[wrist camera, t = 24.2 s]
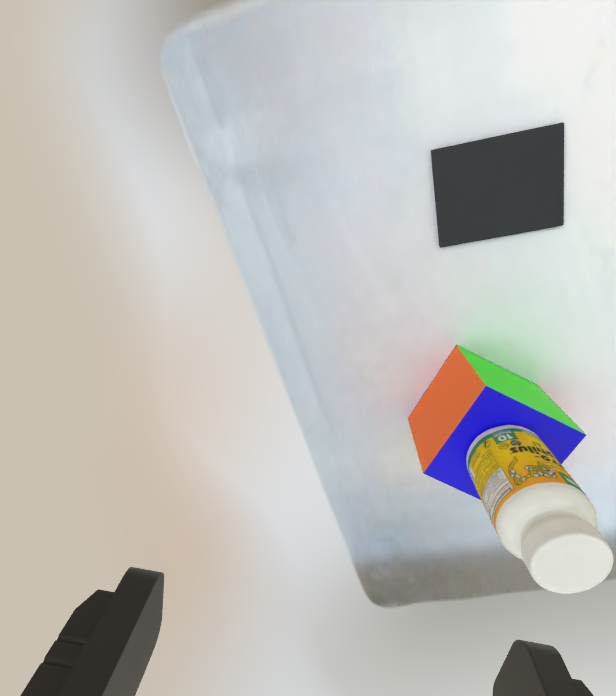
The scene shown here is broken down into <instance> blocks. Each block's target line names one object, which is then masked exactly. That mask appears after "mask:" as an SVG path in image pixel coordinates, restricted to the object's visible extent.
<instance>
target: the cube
mask: <svg viewBox="0 0 616 696" xmlns="http://www.w3.org/2000/svg"><path fill="white" fill-rule="evenodd" d="M408 421H409V424H410V428H411V431H412V435H413V438H414V442H415V445H416V449H417V452H418V456H419V459H420V463H421V466H422V470H423V473H424V474H426V475H428V476H430V477H433V478H435V479H437V480H439V481H441V482H443V483H446V484H448V485H450V486H452V487H454V488H456V489H459V490H461V491H463V492H465V493H467V494H469V495H472V496H474V497H476V498H478V499H480V500H481V498H480V496H479V494H478V492H477V490H476V487H475V485H474V483H473V481H472V479H471V476H470V474H469V472H468V469H467V463H466V457H467V452H468V450H469V447H470V445H471V444H472V442H473V441H474V440H475V439H476V437H477V436H479V435H480V434H482V433H483V432H485V431H487V430H489V429H491V428H495V427H499V426H504V425H516V426H521V427H524V428H527V429H529V430H530V431H532V432H534V433H535V434H536V435H537V436H538V437H539V438H540V439H541V440H542V442H543V443H544V444H545V445H546V446H547V447H548V449H549V450H550V451H551V453H552V454H553V455H554V456H555V458H556V459H557V460H558V462H559V463H560V464H562V463H563V462H564V460H565V459H566V458H567V457H568V456H569V455H570V453H571V452H572V451H573V450H574V449H575V448H576V446H577V445H578V444H579V443H580V442H581V441H582V439H583V438H584V437H585V436H586V434H585V433H584V432H583V431H582V430H581V429H580V428H579V427H578V426H577V425H576V424H575V423H574V422H573V421H572V420H571V419H570V418H569V417H568V416H567V415H566V414H565V413H564V412H563V411H562V410H561V409H560V408H559V407H558V406H557V405H556V404H555V403H554V402H553V401H552V400H551V399H550V398H549V397H548V396H547V395H546V394H545V393H544V391H543V390H542V389H541V388H540V387H539V386H538V385H536V384H534V383H532V382H530V381H528V380H526V379H524V378H522V377H520V376H518V375H516V374H514V373H512V372H510V371H508V370H506V369H504V368H502V367H500V366H498V365H496V364H494V363H492V362H490V361H488V360H486V359H484V358H482V357H479V356H477V355H475V354H473V353H471V352H469V351H467V350H465V349H463V348H461V347H459V346H457V345H456V347H455V348H454V350H453V351H452V353H451V354H450V356H449V357H448V359H447V360H446V362H445V363H444V365H443V366H442V368H441V369H440V371H439V372H438V374H437V375H436V377H435V378H434V380H433V381H432V383H431V385H430V386H429V388H428V389H427V391H426V392H425V394H424V395H423V397H422V398H421V400H420V401H419V403H418V404H417V406H416V407H415V409H414V410H413V412H412V413H411V415H410V416H409V418H408Z"/></svg>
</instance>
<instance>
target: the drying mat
mask: <svg viewBox="0 0 616 696" xmlns="http://www.w3.org/2000/svg"><path fill="white" fill-rule="evenodd" d="M431 156H432V168H433V179H434V190H435V201H436V213H437V224H438V235H439V246H440V247H446V246H451V245H457V244H462V243H468V242H473V241H479V240H485V239H490V238H496V237H501V236H507V235H512V234H518V233H523V232H529V231H535V230H540V229H546V228H551V227H557V226H562V225H563V216H564V123H559V124H554V125H549V126H544V127H540V128H535V129H530V130H525V131H521V132H516V133H511V134H506V135H502V136H497V137H492V138H487V139H483V140H478V141H473V142H468V143H463V144H459V145H454V146H449V147H444V148H440V149H435V150H431Z"/></svg>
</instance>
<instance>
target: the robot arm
mask: <svg viewBox="0 0 616 696" xmlns="http://www.w3.org/2000/svg"><path fill="white" fill-rule="evenodd" d="M163 588H164V574H163V573H161V572H156V571H150V570H145V569H140V568H133V567H130V568H129V569H128V570H127V572H126V573H125V575H124V576H123V578H122V580H121V582H120V583H119V585H118V587H117V589H116V591H115V592H109V591H104V590H97V591H96V592H95V593H94V594H93V595H91V596H90V597H89V598H88V599H87V600H86V601H84V602H83V603H82V604H81V605H80V606H79V607H77V608H76V609H75V611H74V612H73V614H72V615H71V617H70V619H69V620H68V621H67V623H66V625H65V627H64V628H63V629H62V631H61V633H60V634H59V637H58V639H57V641H55V642H54V644H53V645H52V647H51V648H50V650H49V652H48V653H47V655H46V656H45V659H44V662H43V663H41V665H40V666H39V667H38V669H37V670H36V672H35V674H34V675H33V677H32V678H31V680H30V682H29V683H28V685H27V686H26V688H25V689H24V691H23V693H22V694H21V696H135V694H136V692H137V689H138V687H139V684H140V682H141V679H142V677H143V675H144V672H145V670H146V667H147V665H148V662H149V660H150V657H151V655H152V653H153V650H154V647H155V644H156V641H157V638H158V635H159V631H160V626H161V621H162V607H163ZM493 696H593V694H592V693H591V692H590V691H589V690H588V688H587V687H586V686H585V685H584V684H583V682H582V681H581V680H575V679H572V678H571V677H570V674H569V672H568V670H567V668H566V666H565V663H564V661H563V659H562V657H561V655H560V654H559V652H558V651H557V650H556V649H555V648H554V647H553V646H550V645H544V644H538V643H533V642H528V641H522V640H516V641H515V642H514V643H513V645H512V647H511V649H510V651H509V653H508V655H507V657H506V659H505V661H504V663H503V665H502V667H501V669H500V672H499V674H498V676H497V678H496V680H495V682H494V687H493Z"/></svg>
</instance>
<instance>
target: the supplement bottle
mask: <svg viewBox="0 0 616 696" xmlns="http://www.w3.org/2000/svg"><path fill="white" fill-rule="evenodd" d="M466 463H467V469H468V472H469V474H470V476H471V479H472V481H473V483H474V485H475V487H476V490H477V492H478V494H479V496H480V498H481V500H482V503H483V505H484V507H485V509H486V511H487V513H488V515H489V517H490V520H491V522H492V524H493V526H494V528H495V531H496V533H497V535H498V537H499V539H500V541H501V542H502V544H503V545H504V546H505V547H506V549H507V550H508V551H510V552H511V553H512V554H513V555H515V556H516V557H518V558H520V559H522V560H523V561H524V563H525V564H526V566H527V568H528V570H529V572H530V573H531V575H532V577H533V579H534V580H535V581H536V582H537V583H538V584H539V585H540V586H542V587H543V588H545V589H547V590H549V591H553V592H556V593H564V594H568V593H577V592H581V591H585V590H588V589H590V588H592V587H594V586H596V585H597V584H599V583H600V582H602V581H603V580H604V579H605V578H606V577H607V575H608V574H609V572H610V571H611V569H612V565H613V554H612V551H611V549H610V547H609V546H608V544H607V543H606V541H605V540H604V538H603V537H602V535H601V534H600V532H599V531H598V530H597V525H598V521H597V514H596V511H595V508H594V506H593V504H592V503H591V501H590V500H589V498H588V497H587V496H586V495H585V493H584V492H583V491H582V490H581V488H580V487H579V486H578V485H577V484H576V482H575V481H574V480H573V479H572V477H571V476H570V475H569V474H568V473H567V471H566V470H565V469H564V468H563V466H562V465H561V464H560V463H559V462H558V460H557V459H556V458H555V456H554V455H553V454H552V453H551V451H550V450H549V449H548V447H547V446H546V445H545V444H544V443H543V442H542V440H541V439H540V438H539V437H538V436H537V435H536V434H535V433H534V432H532V431H530V430H529V429H527V428H524V427H521V426H516V425H504V426H499V427H495V428H491V429H489V430H487V431H485V432H483V433H482V434H480V435H479V436H477V437H476V439H475V440H474V441H473V442H472V444H471V445H470V447H469V450H468V452H467V457H466Z"/></svg>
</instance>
